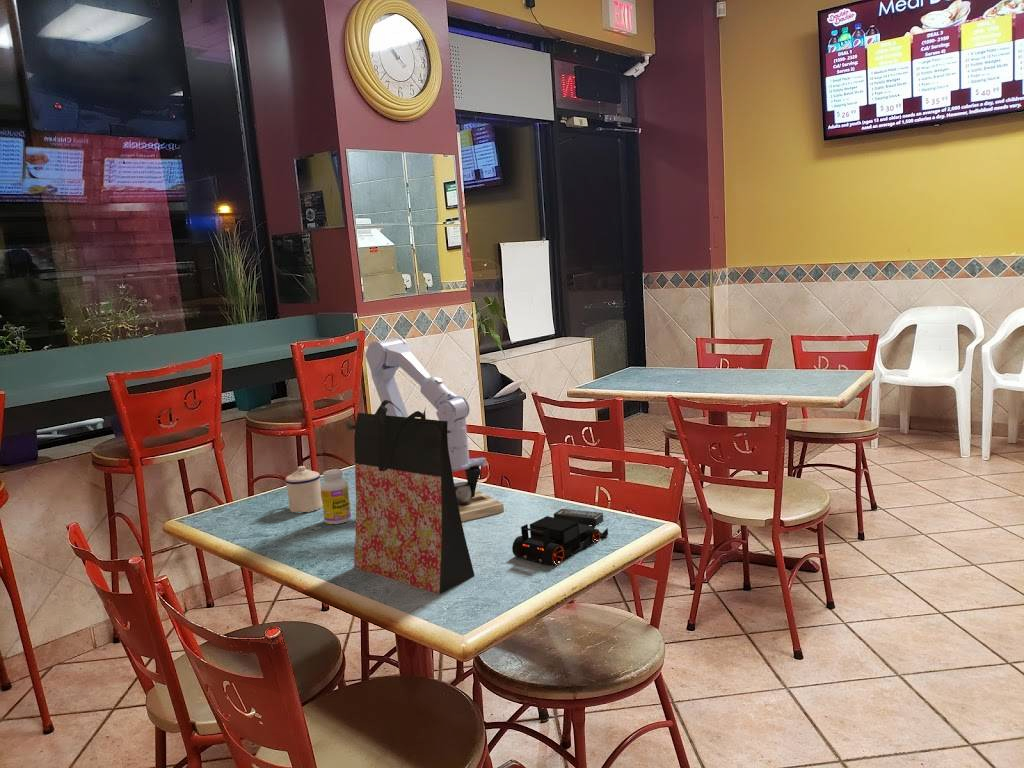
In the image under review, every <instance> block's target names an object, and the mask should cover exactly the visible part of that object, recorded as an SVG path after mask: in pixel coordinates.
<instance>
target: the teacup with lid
mask: <svg viewBox="0 0 1024 768" xmlns="http://www.w3.org/2000/svg"><path fill="white" fill-rule="evenodd" d="M320 478H321V475H320V473H319V472H317V471H314V470H310V469H306V466H305V465H300V466H298V467H297V470H296V471H293V472H292V473H291V474H289V475H288V476H286V477H285V480H284V482H285V483H286V485H285V486H286V492H287V496H288V497H287V498H288V504H289V510H290V512H291V511H292V512H291V513H293V512H308V513H311V512H310V511H313V512H315V511H314V510H316V509H318V510H320V509H321V508H323V504H322V495H321V479H320ZM319 508H320V509H319ZM316 511H317V510H316Z"/></svg>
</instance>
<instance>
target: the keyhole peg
mask: <svg viewBox="0 0 1024 768" xmlns="http://www.w3.org/2000/svg"><path fill="white" fill-rule="evenodd" d="M454 485H455V491H456V496H457V502H458V507H463V506H467V504H469V503H471V502H472V493H471V483H469V482H467V481H459V482H454Z"/></svg>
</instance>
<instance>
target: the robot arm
mask: <svg viewBox="0 0 1024 768" xmlns="http://www.w3.org/2000/svg"><path fill="white" fill-rule="evenodd" d="M364 355H365V359H366V362H367V365H368V366H369V369H370V370H369V371H370V373H371V374H370V375H371V379H372V382H373V384H374V386H375V389H376V390H375V391H376V392H377V395H378V398H379V400H380V404H381V403H382V402H383V401H384V400H389V401H391V402H392V403H393V404H394V405H395V406H396V407H398V408H399V409H400V411H401V412H402V413H401V412H400V411H399V410H398V409H397V408H396V407H395V406H394V405H392V404H390V403H388V404H386V405H385V407H386V408H387V409H388V410H387V412H386V415H388V416H399V417H403V416H404V417H409V416H410V415H409V414H408V410H407V409H406V405H405V402H404V401H403V398H402V395H401V393H400V389H399V387H398V384H397V381H396V379H395V374H396V372H397V371H398V369H399V368H400V369H402V370H403V371H404V372H405V373H406V374H407V375H408V376H409V377H410V378H411V379H413V381H415V382H416V383H417V384H418V385H419V386H420V393H421V395H422V396H423V397H424V398H425V399H426V401H428V402H429V403H430V405H432V406H433V408H435V409H436V411H435V413H436V416H437V420H440V421H448V424H447V438H448V450H449V457H450V463H451V468H452V473H454V472H460V471H463V470H464V472H465V475H466V482H469V483H471V493H472V497H475V490H477V485H478V481H479V479H480V476H481V474H482V469H481V468H480V467H486V466H487V465H488V464H487V458H485V457H482V456H481V457H476V458H470V453H469V452H470V451H469V443H468V431H467V422H466V421H467V419H466V418H467V417H468V416H469V414H470V405H469V402H468V401H467V399H466V398H465V397H464V396H461V395H457V394H456V393H454V392H453V391H451V389H449V388H448V387H447V385H445V384H444V383H443V382H444V381H443V379H441V377H438V376H431V375H430V373H428V371H427V370H426V369H425V367H423V365H422V364H421V363H420V361H419V360H418V359H417V358H416V357H415V356H414V354H413V353H412V348H411V345H410V344H408V342H406V340H405V339H404V338H402V337H400V336H396V337H394V338H388V339H383V340H373V341H371V342H370V343H369V344H368V346H367V349H366V352H365V354H364ZM402 414H403V415H402Z"/></svg>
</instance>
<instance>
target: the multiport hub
mask: <svg viewBox="0 0 1024 768" xmlns="http://www.w3.org/2000/svg"><path fill="white" fill-rule="evenodd" d="M553 517H554V518H559V519H564V520H569V521H574V522H579V524H582V523H584V525H592V526H596V525H598V524H599V523H601V522H602V521H603V522H604V513H603V512H596V511H588V510H580V509H579V510H578V509H569V508H560V509H559V510H557V511H556V512H554V513H553ZM603 522H602V523H603ZM602 523H601V524H602ZM599 525H600V524H599ZM599 525H598V526H599Z"/></svg>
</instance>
